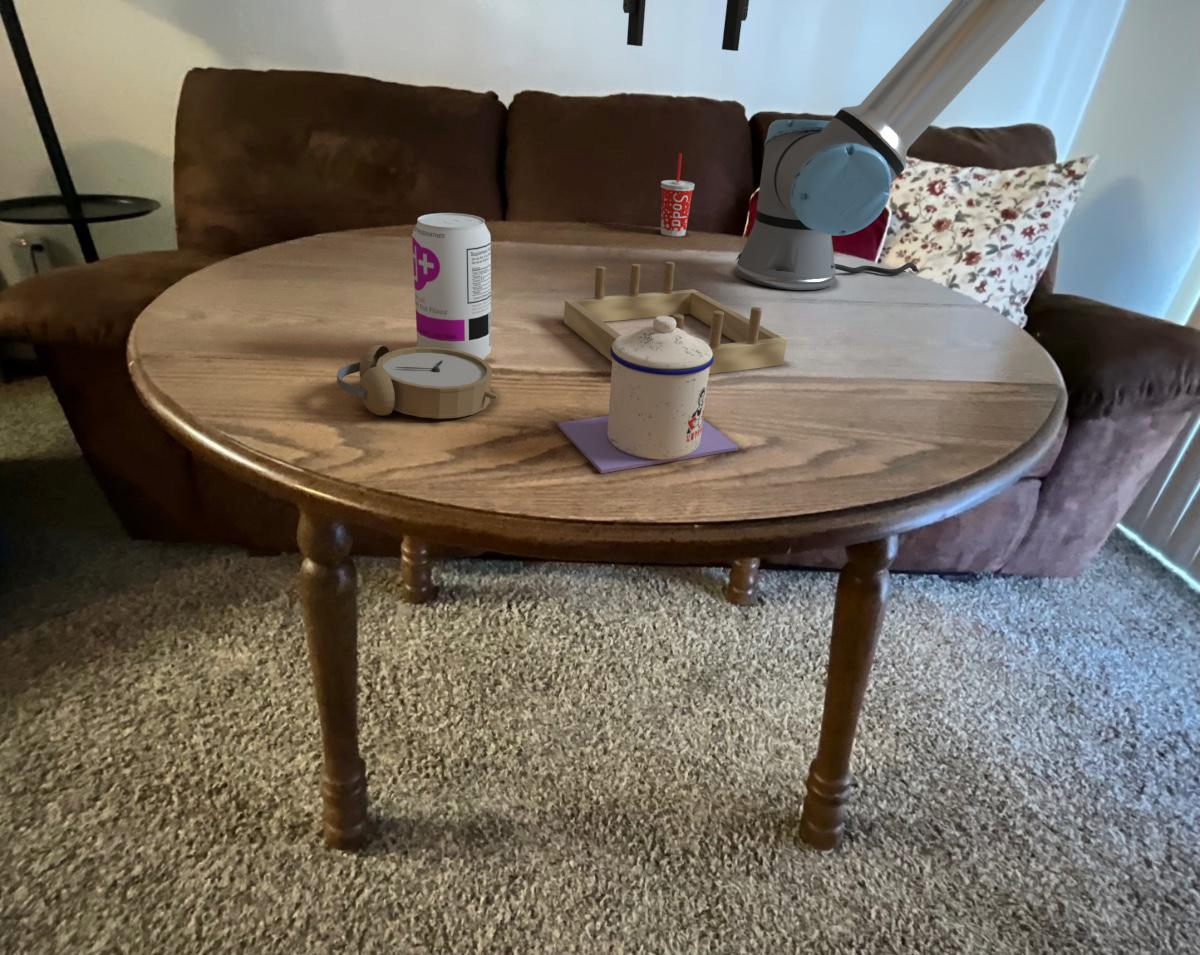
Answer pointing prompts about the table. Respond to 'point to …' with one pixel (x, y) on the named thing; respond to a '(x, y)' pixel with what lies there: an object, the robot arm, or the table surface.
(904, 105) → the robot arm
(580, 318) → the rack
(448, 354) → the alarm clock
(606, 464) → the mat
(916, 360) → the table surface
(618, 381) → the teacup with lid
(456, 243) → the supplement can
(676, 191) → the beverage cup
